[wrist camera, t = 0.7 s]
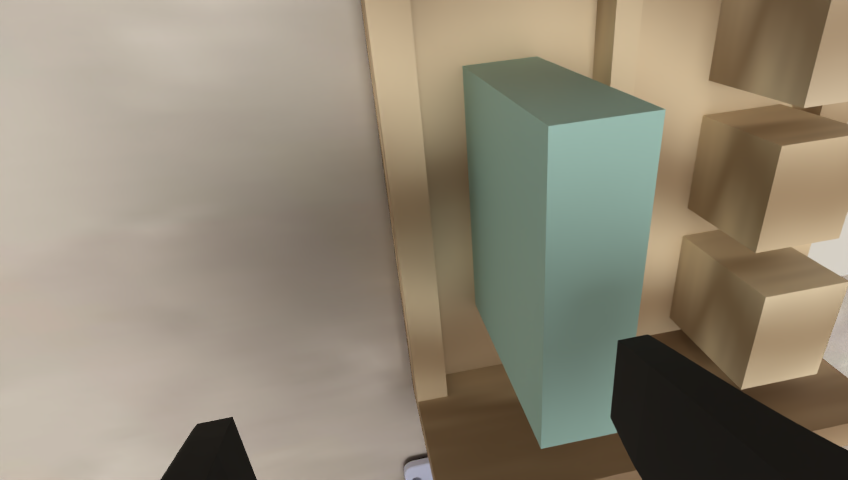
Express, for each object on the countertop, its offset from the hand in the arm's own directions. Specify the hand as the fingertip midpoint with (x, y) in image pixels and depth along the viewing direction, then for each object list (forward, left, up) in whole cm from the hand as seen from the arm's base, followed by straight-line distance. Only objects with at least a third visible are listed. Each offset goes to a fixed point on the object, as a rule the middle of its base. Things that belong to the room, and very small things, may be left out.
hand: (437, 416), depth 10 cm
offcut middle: (0, -13, -9) cm, 16 cm away
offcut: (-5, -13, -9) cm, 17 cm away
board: (0, -4, -9) cm, 10 cm away
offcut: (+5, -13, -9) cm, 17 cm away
